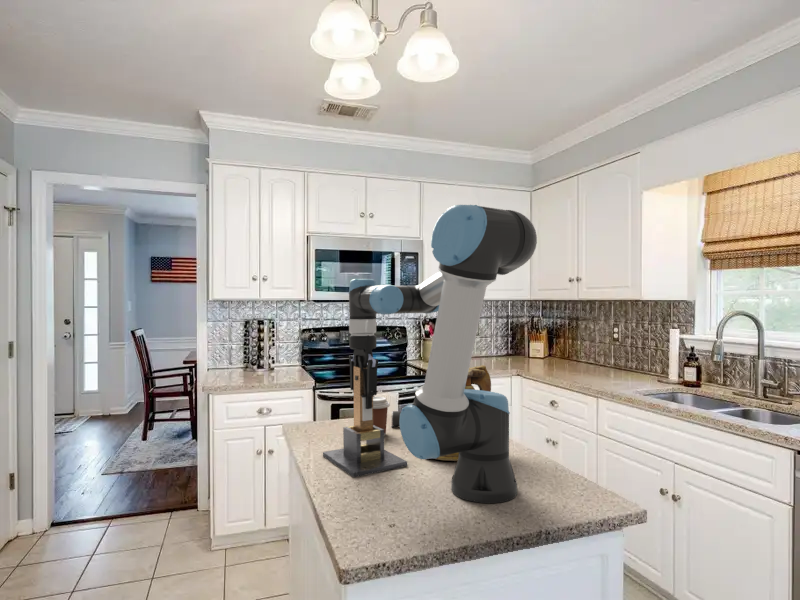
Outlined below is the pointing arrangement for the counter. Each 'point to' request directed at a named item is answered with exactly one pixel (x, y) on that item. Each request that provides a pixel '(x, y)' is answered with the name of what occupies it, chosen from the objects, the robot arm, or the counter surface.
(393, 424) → the flashlight
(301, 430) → the counter surface
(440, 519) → the counter surface
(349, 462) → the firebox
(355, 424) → the tapered wooden post
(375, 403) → the coffee cup
